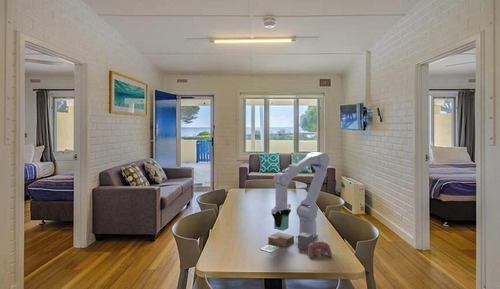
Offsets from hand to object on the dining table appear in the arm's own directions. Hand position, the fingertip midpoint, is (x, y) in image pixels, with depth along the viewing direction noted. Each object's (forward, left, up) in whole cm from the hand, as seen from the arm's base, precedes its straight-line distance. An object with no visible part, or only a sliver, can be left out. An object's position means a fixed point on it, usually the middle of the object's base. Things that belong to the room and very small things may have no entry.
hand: (281, 225), depth 150 cm
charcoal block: (-2, +12, -9) cm, 15 cm away
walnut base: (0, 0, -8) cm, 8 cm away
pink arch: (+3, +22, -9) cm, 23 cm away
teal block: (0, 0, -2) cm, 2 cm away
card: (+10, 0, -8) cm, 13 cm away
